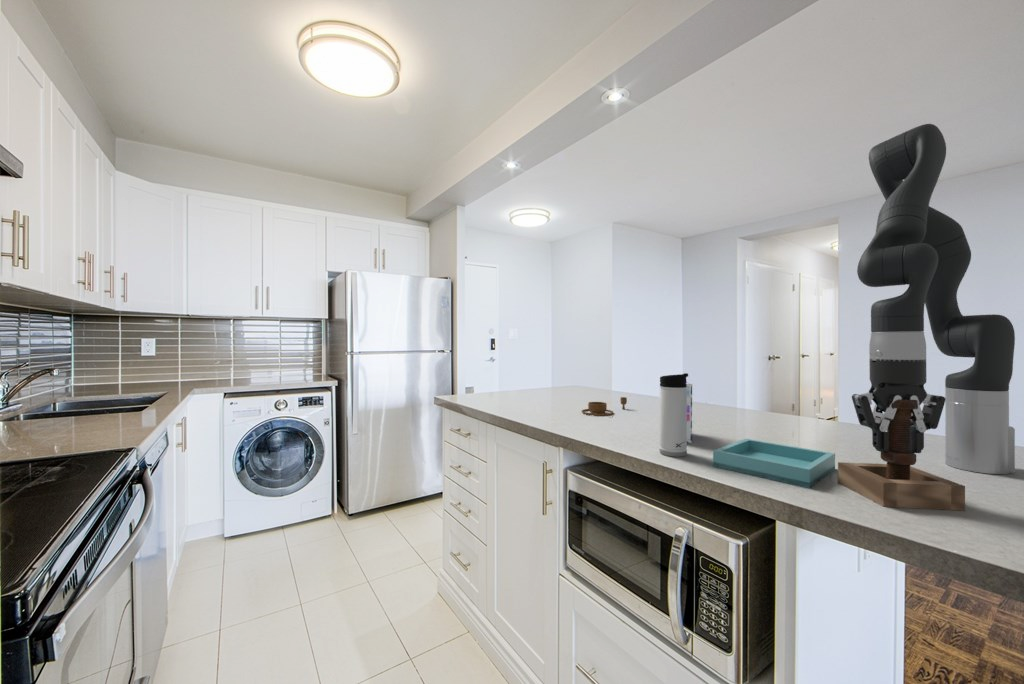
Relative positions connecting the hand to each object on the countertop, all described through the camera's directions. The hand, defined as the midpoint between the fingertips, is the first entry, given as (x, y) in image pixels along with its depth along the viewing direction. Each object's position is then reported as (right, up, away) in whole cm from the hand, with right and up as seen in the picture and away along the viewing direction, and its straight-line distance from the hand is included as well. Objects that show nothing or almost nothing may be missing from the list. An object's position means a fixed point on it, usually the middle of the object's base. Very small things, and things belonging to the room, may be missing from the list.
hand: (897, 451), depth 75 cm
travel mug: (-30, -8, +28) cm, 41 cm away
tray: (-12, -8, +16) cm, 22 cm away
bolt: (0, -6, 0) cm, 6 cm away
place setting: (-33, -9, +85) cm, 92 cm away
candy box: (-22, -8, +45) cm, 51 cm away
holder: (0, -8, 0) cm, 8 cm away
